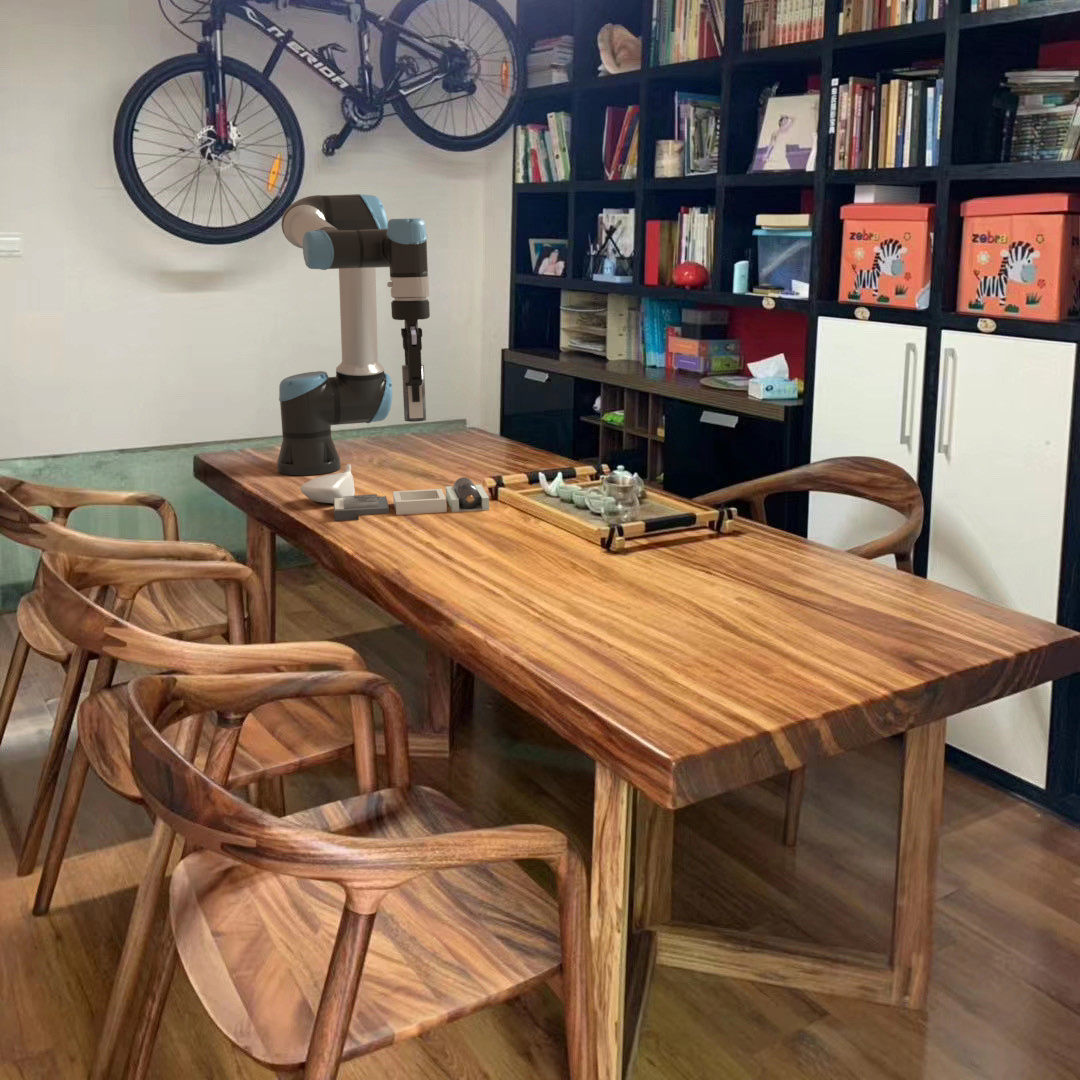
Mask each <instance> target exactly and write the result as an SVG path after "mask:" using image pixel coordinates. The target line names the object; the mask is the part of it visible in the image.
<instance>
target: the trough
mask: <svg viewBox="0 0 1080 1080" xmlns="http://www.w3.org/2000/svg"><path fill="white" fill-rule="evenodd" d="M474 485H475V487H476V489H477V490H478V492H479V494H480V497H481V500H480V503H479V505H478V506H477V507H476V508H473V509H466V508H464V507H463V506H462V505H461V504H460V502H459V499H458V497H457V495H456V493H455V491H454V486H453V485H452V486H451V485H449V486H445V497H446V502H447V504H448V505H449V508H450V510H451V512H452V513H460V512H475V511H476V512H477V511H478V512H479V511H490V497H489V496H488V494H487V492H486V491H485V489H484V487H483V485H482V484H474Z"/></svg>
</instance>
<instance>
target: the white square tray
mask: <svg viewBox="0 0 1080 1080" xmlns="http://www.w3.org/2000/svg"><path fill="white" fill-rule="evenodd" d="M392 496H393V497H392V498H393V507H394V511H395V514H396V516H403V515H419V514H420V515H421V514H434V513H435V514H436V513H447V512H448V511H447V510H448V509H447V507H448V505H447V504H448V503H447V499H446V494H444V491H443V488H429V489H415V490H414V489H412V490H411V489H410V490H396V491H392Z"/></svg>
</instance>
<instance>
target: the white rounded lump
mask: <svg viewBox="0 0 1080 1080" xmlns="http://www.w3.org/2000/svg"><path fill="white" fill-rule="evenodd" d="M354 480H355V479H354V476H353V474H352V464H349V463H347V464H346V465H345V469H344V471H343V472H340V473H333V474H326V475H322V476H318V477H315V478H312V479H309V480H308V481H307V482H305V483H304V484H302V485H301V486H300V488H299V489H300V491H301V493H302V494H303V495H304V496H305V497H306V498H308V499H309V500H311V501H312V502H315V503H322V504H334V498H343V496H355V494H356V489H355V482H354Z"/></svg>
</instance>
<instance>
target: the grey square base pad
mask: <svg viewBox="0 0 1080 1080" xmlns="http://www.w3.org/2000/svg"><path fill="white" fill-rule="evenodd" d="M377 498H378V506H376V507H359V508H344V503H343V498H334V503H333V515H334V521H335V522H336V521H337V522H338V521H339V522H340V521H352V520H353V521H354V520H360V517H359V516H370V515H371V516H372V515H387V514H390V508H389V504H388V503H389V502H388V498H387V496H385V495H383V496H377Z"/></svg>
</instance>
